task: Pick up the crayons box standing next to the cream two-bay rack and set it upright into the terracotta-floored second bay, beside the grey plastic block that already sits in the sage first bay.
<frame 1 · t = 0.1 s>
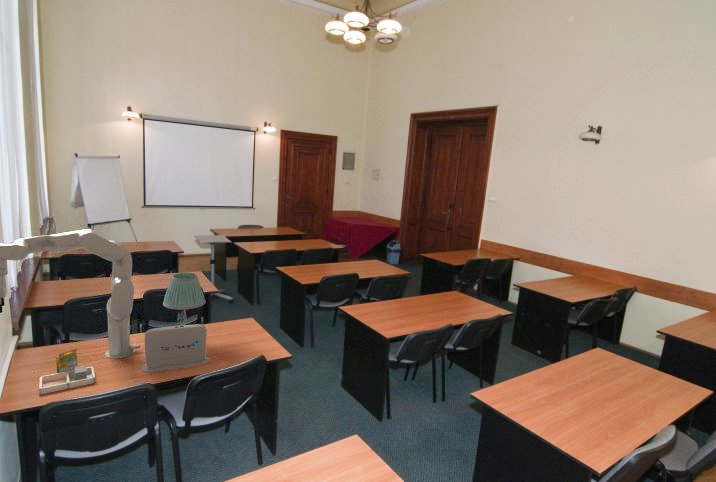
grey block: (80, 379, 177), point 1 cm above the table, touching rack
wireless router: (176, 364, 199), on the table
rack: (68, 383, 174), on the table
table lamp: (184, 344, 220), on the table
crayon box: (67, 374, 182), on the table
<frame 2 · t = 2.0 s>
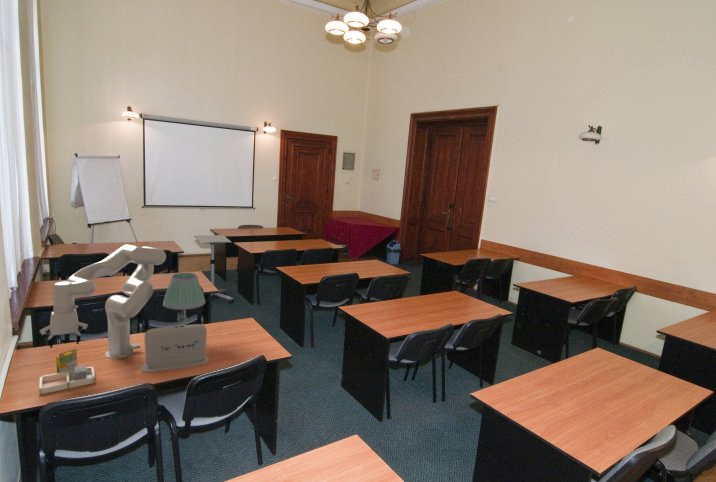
hand: (64, 344, 179), 14 cm above the table, fingers open, 9 cm apart
nothing on the table moved.
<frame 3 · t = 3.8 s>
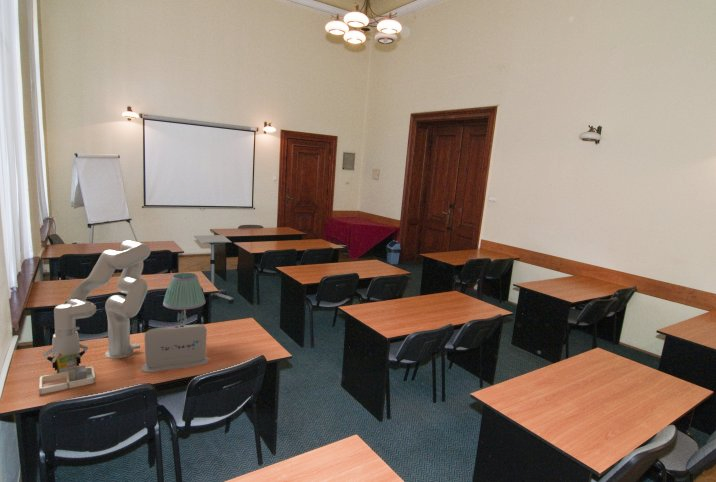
hand: (67, 366, 181), 3 cm above the table, fingers closed on crayon box, 7 cm apart
crayon box: (67, 374, 182), on the table, touching gripper
everything else where it was.
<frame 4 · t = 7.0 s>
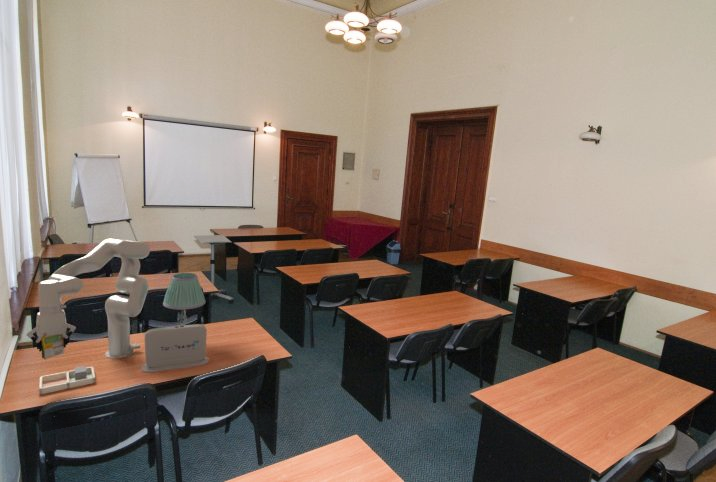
hand: (52, 348, 168), 18 cm above the table, fingers closed on crayon box, 7 cm apart
crayon box: (53, 355, 169), point 14 cm above the table, touching gripper
everything else where it was.
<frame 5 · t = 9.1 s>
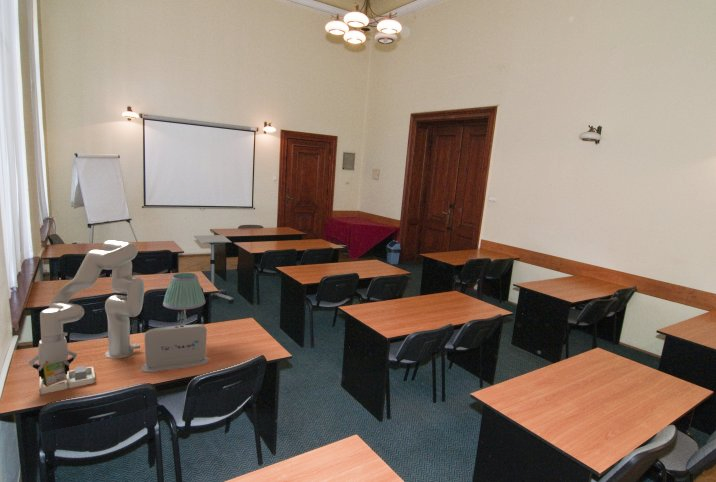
hand: (54, 374, 171), 5 cm above the table, fingers closed on crayon box, 7 cm apart
crayon box: (54, 382, 171), point 2 cm above the table, touching gripper
everything else where it was.
when the fingers open (5 cm above the table, at t = 10.1 s): crayon box stays where it is, resting on rack.
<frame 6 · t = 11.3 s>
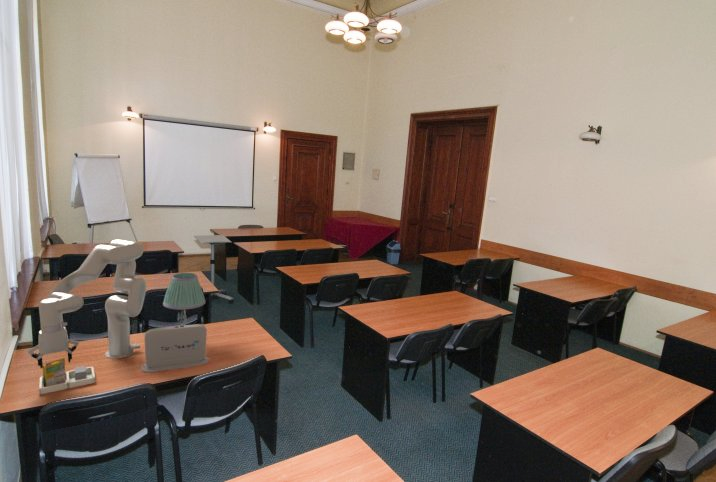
hand: (55, 363, 170), 10 cm above the table, fingers open, 9 cm apart
crayon box: (54, 385, 171), point 1 cm above the table, touching rack
everything else where it was.
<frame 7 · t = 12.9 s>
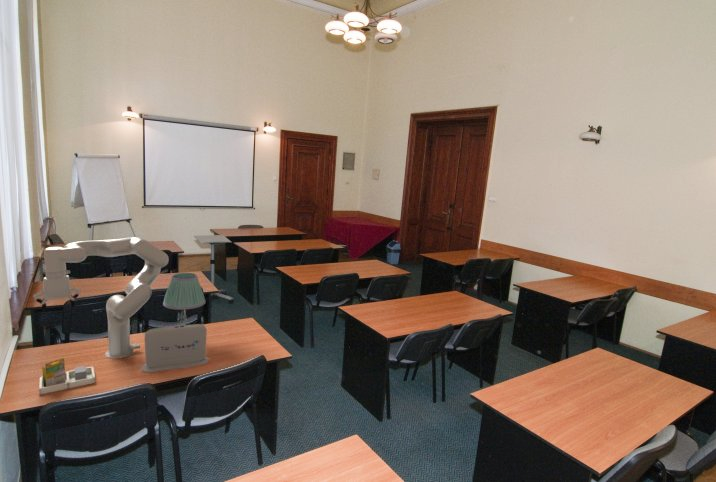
hand: (58, 309, 181), 29 cm above the table, fingers open, 9 cm apart
nothing on the table moved.
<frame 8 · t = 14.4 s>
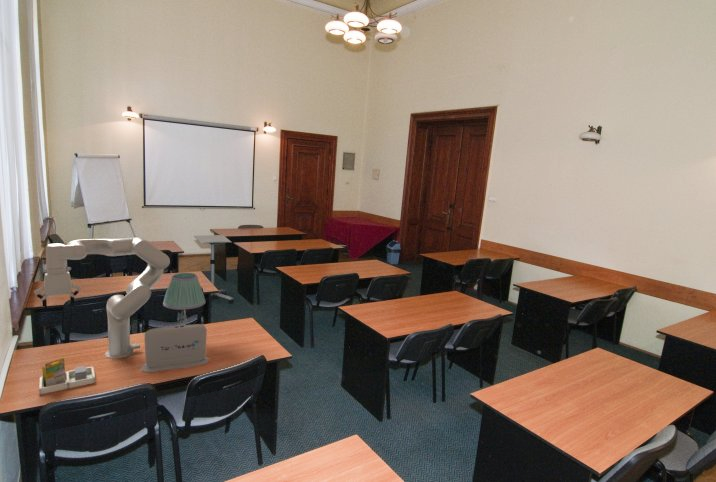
hand: (58, 306, 183), 30 cm above the table, fingers open, 9 cm apart
nothing on the table moved.
at the end: crayon box inside the target area on the rack (0.2 cm from its centre), point 0.6 cm above the rack's base; crayon box tilted 0°; the gripper is holding nothing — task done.
